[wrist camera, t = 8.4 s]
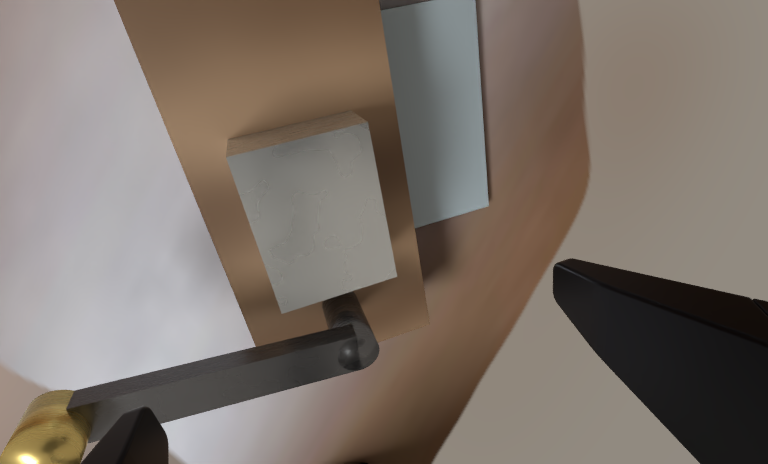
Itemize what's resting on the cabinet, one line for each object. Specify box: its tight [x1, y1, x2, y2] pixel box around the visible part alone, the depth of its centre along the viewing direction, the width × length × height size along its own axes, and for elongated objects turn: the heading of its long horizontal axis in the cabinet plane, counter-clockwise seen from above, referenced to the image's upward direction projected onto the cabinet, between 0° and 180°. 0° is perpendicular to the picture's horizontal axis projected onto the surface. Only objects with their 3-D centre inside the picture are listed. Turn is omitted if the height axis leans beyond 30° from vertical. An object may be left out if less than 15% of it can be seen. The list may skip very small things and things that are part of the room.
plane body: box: [114, 0, 430, 347], centre depth 18 cm, size 16×8×3 cm, turn 10°
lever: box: [0, 291, 379, 464], centre depth 16 cm, size 12×2×5 cm, turn 94°
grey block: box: [226, 110, 397, 314], centre depth 16 cm, size 6×4×2 cm
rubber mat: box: [381, 0, 489, 228], centre depth 20 cm, size 10×5×1 cm, turn 10°
